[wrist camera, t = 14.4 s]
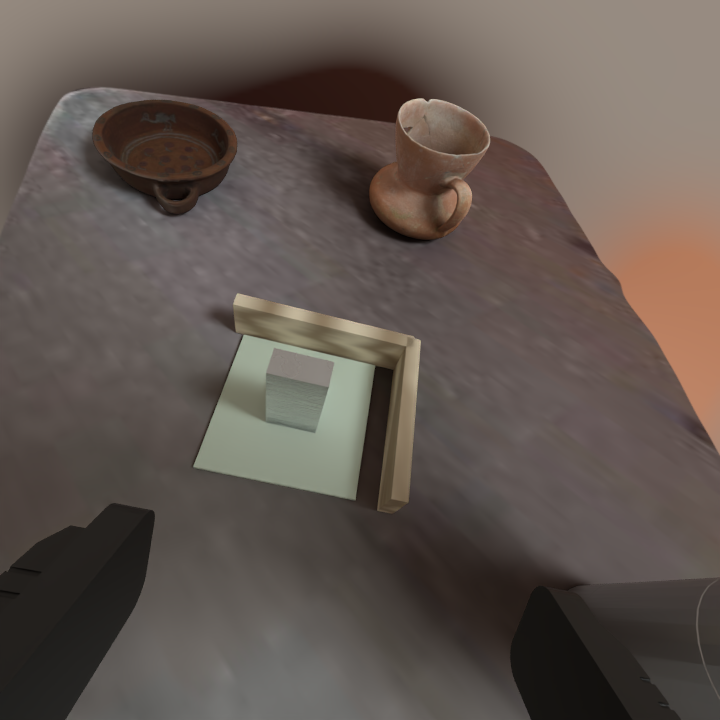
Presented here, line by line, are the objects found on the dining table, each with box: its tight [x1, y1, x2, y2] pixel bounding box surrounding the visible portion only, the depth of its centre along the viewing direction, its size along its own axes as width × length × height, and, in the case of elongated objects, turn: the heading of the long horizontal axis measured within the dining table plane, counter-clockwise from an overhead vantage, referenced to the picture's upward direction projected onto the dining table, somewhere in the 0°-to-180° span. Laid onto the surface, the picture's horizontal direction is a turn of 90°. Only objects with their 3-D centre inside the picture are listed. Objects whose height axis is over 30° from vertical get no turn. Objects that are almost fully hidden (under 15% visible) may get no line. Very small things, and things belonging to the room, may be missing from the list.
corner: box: [233, 293, 421, 514], centre depth 39 cm, size 20×17×5 cm
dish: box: [93, 100, 237, 214], centre depth 54 cm, size 18×22×5 cm
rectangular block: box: [266, 348, 334, 433], centre depth 37 cm, size 6×5×10 cm
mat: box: [193, 335, 375, 501], centre depth 40 cm, size 15×15×1 cm
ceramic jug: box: [369, 99, 490, 240], centre depth 55 cm, size 18×14×14 cm
